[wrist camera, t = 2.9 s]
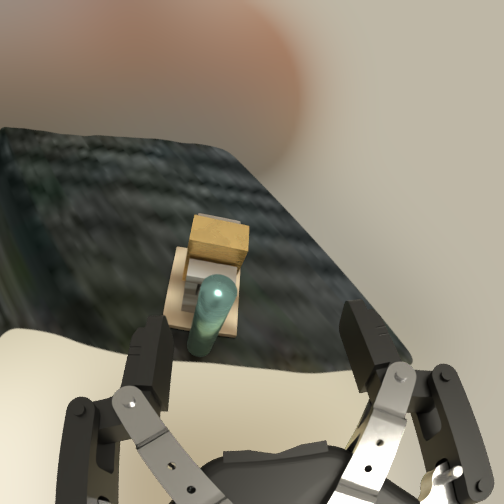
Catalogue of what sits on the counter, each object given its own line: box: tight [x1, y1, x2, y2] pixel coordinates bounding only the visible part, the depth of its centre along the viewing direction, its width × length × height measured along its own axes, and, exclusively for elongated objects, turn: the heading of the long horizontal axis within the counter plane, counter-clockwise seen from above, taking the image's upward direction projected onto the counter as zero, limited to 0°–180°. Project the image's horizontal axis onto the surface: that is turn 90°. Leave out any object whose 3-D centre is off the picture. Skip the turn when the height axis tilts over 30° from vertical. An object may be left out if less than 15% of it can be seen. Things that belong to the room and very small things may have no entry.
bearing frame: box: [163, 213, 240, 338], centre depth 42 cm, size 14×11×11 cm
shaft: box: [187, 274, 237, 357], centre depth 36 cm, size 18×3×15 cm, turn 179°
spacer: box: [182, 215, 249, 281], centre depth 39 cm, size 4×7×9 cm, turn 89°
